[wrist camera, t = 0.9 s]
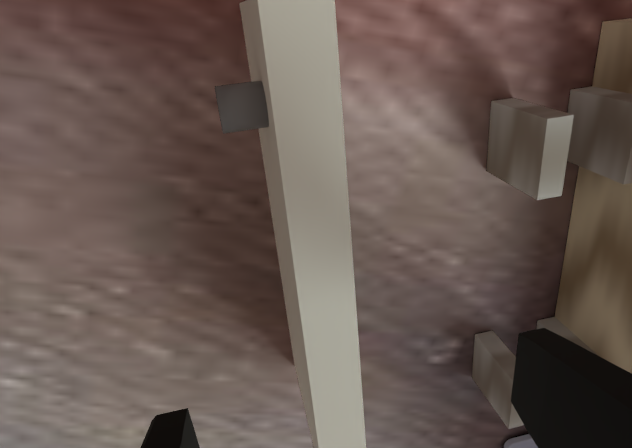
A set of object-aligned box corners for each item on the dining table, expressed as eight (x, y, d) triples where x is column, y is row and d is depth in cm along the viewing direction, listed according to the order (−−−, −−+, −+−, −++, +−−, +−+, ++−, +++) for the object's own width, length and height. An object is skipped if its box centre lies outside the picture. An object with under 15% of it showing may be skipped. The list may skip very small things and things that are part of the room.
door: (325, 357, 23) (369, 487, 16) (269, 369, 22) (292, 507, 16) (285, -2, 16) (333, -12, 9) (202, 6, 15) (196, 3, 9)
